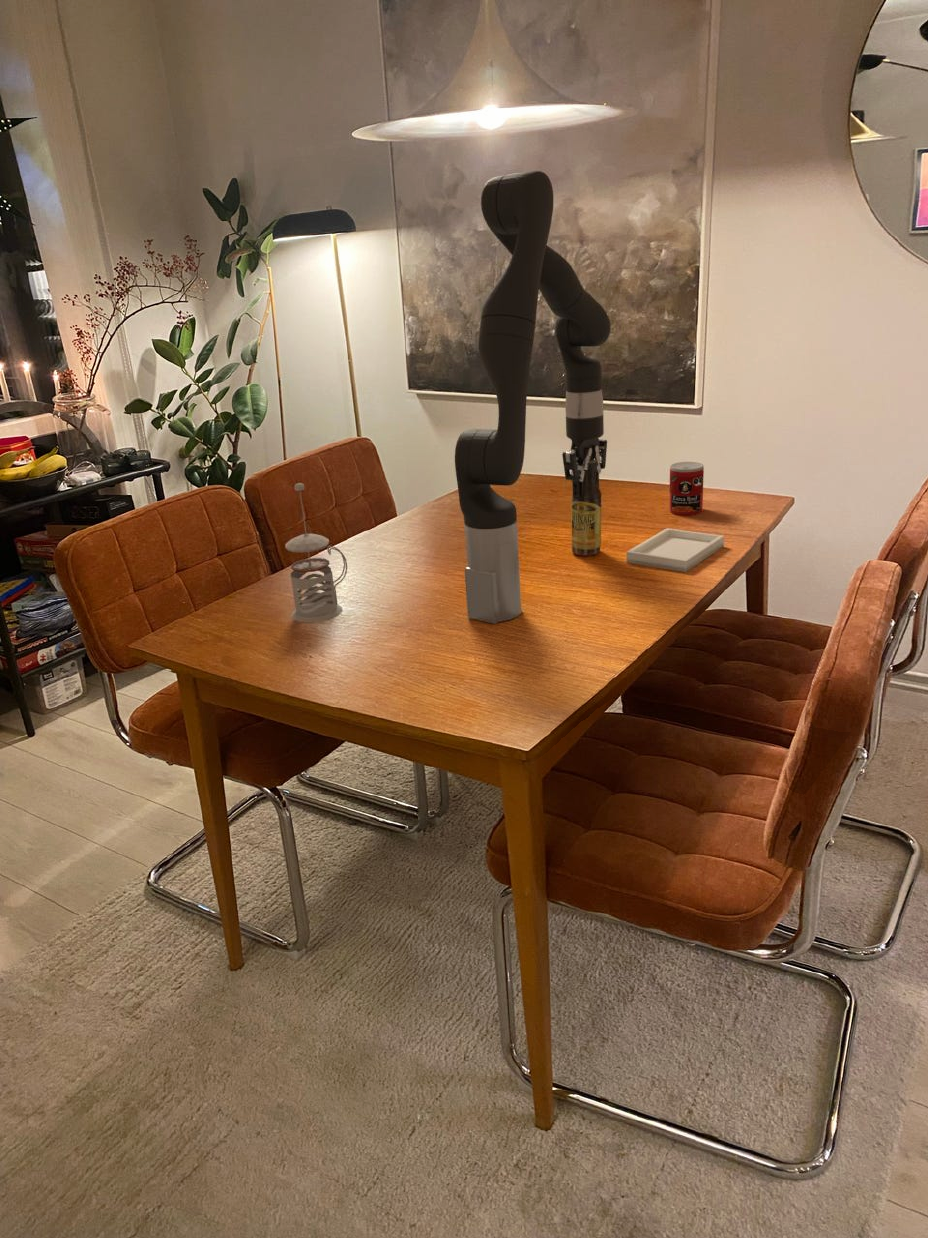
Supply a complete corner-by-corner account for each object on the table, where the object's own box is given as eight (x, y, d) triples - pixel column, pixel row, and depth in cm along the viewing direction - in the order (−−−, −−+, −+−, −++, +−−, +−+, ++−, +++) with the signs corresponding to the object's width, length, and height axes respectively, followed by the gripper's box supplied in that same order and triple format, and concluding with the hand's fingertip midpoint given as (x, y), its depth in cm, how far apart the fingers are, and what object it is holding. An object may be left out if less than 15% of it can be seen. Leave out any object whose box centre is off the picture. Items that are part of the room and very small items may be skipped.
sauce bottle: (567, 555, 196) (563, 463, 188) (578, 546, 201) (575, 456, 193) (596, 558, 193) (594, 464, 185) (606, 549, 198) (605, 457, 190)
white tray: (685, 572, 182) (686, 561, 181) (626, 562, 189) (626, 551, 189) (723, 546, 195) (724, 535, 194) (666, 538, 202) (666, 528, 201)
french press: (286, 609, 178) (266, 481, 169) (345, 597, 182) (329, 472, 172) (296, 626, 170) (276, 493, 160) (357, 614, 173) (341, 482, 164)
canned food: (667, 515, 218) (668, 469, 214) (670, 506, 225) (671, 461, 221) (701, 516, 216) (702, 469, 212) (703, 506, 223) (704, 461, 219)
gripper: (581, 420, 179) (583, 505, 185) (618, 407, 189) (619, 488, 195) (549, 418, 183) (552, 501, 190) (586, 405, 193) (588, 485, 200)
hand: (586, 494), depth 192 cm, fingers closed on sauce bottle, 5 cm apart
